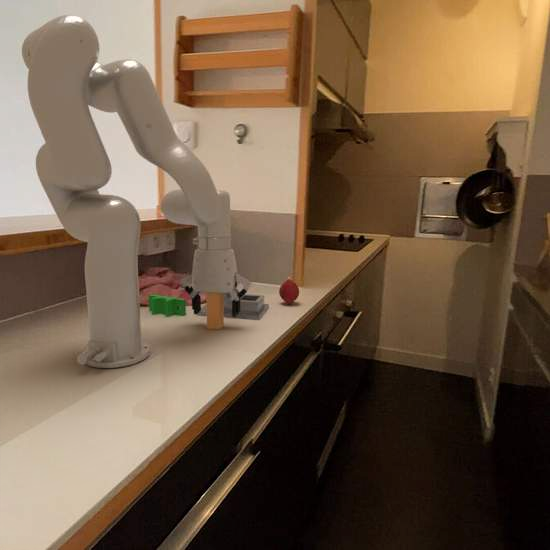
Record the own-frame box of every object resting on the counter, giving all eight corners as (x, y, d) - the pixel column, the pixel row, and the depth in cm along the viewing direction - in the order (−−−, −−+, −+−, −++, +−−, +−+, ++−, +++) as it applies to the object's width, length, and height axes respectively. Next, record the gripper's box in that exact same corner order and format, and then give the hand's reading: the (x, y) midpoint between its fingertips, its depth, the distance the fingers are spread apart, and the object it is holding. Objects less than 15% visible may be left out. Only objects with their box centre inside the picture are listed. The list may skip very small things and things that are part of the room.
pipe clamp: (142, 314, 115) (141, 297, 114) (151, 310, 118) (151, 294, 117) (177, 319, 111) (177, 302, 110) (186, 315, 114) (185, 298, 113)
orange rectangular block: (219, 329, 103) (219, 288, 101) (206, 328, 103) (206, 288, 101) (223, 325, 106) (223, 285, 104) (211, 324, 106) (210, 285, 104)
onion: (302, 303, 127) (303, 277, 125) (292, 307, 122) (292, 280, 120) (285, 300, 130) (286, 274, 128) (275, 304, 125) (275, 277, 124)
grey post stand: (258, 319, 110) (259, 262, 107) (196, 315, 114) (195, 259, 111) (275, 299, 131) (275, 250, 128) (221, 295, 134) (221, 248, 131)
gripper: (173, 244, 98) (176, 316, 102) (246, 247, 95) (246, 321, 99) (186, 240, 106) (188, 307, 109) (254, 243, 102) (254, 311, 106)
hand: (216, 314), depth 104 cm, fingers open, 9 cm apart
